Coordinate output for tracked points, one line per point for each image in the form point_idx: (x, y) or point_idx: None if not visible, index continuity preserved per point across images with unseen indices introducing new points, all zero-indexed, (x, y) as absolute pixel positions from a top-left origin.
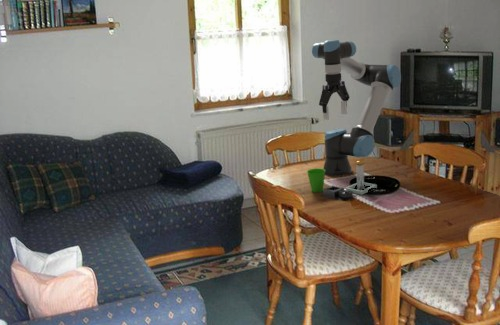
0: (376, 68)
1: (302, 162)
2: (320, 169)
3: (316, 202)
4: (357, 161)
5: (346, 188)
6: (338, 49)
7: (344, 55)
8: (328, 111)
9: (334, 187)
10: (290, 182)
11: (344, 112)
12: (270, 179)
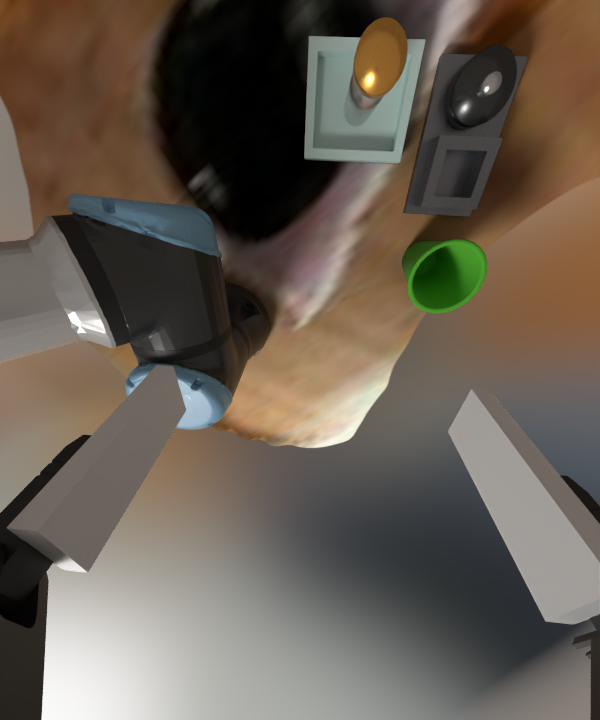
0: None
1: (224, 426)
2: (412, 281)
3: (521, 193)
4: (385, 75)
5: (402, 150)
6: None
7: None
8: (534, 473)
9: (435, 186)
10: (361, 371)
11: (168, 392)
12: (359, 416)
